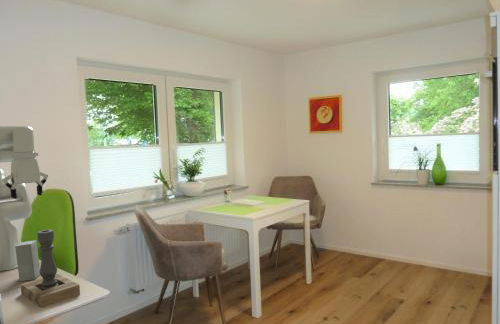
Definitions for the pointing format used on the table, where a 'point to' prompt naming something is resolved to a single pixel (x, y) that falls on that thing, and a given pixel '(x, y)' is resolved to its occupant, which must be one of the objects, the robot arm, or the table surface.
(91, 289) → the table surface
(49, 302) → the holder board
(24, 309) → the table surface
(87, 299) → the table surface
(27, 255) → the skincare box
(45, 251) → the candle holder
